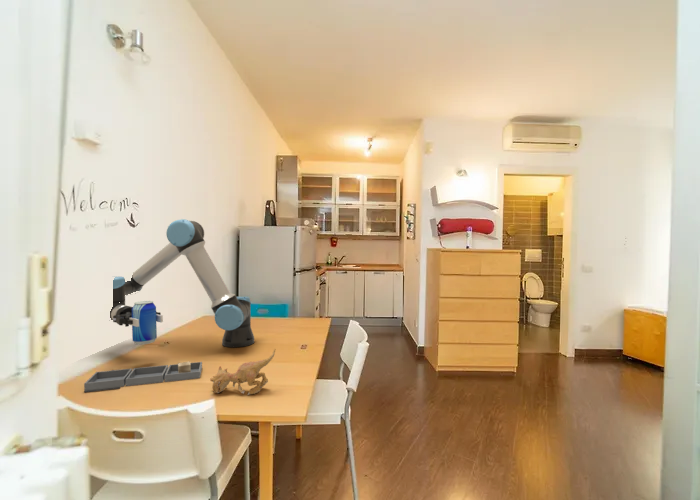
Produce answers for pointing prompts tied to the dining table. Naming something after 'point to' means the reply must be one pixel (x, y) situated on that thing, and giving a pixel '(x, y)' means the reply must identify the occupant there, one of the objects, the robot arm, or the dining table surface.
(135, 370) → the tray middle
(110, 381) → the tray
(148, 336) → the beer can
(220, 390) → the toy
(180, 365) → the beige cube
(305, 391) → the dining table surface
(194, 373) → the tray
